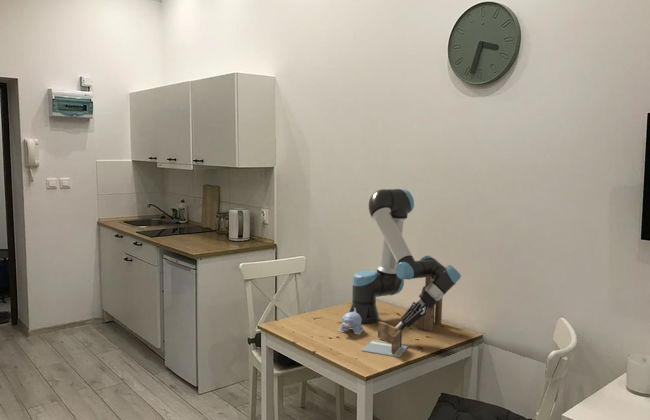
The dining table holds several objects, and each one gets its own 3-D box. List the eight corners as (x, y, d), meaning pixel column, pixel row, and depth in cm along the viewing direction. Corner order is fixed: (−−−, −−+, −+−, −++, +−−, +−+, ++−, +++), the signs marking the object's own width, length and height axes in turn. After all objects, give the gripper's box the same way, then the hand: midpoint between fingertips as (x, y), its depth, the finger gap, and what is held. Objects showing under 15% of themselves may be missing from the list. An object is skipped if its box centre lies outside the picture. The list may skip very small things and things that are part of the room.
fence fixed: (390, 355, 216) (391, 336, 215) (398, 346, 226) (398, 328, 225) (394, 355, 215) (395, 337, 214) (401, 347, 225) (402, 329, 224)
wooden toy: (430, 331, 247) (432, 278, 245) (416, 328, 251) (418, 276, 249) (442, 323, 260) (444, 272, 258) (429, 321, 264) (431, 271, 262)
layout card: (361, 351, 220) (361, 350, 220) (372, 340, 233) (372, 339, 233) (399, 357, 213) (399, 356, 213) (408, 345, 227) (408, 344, 227)
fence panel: (398, 344, 226) (398, 328, 225) (395, 345, 225) (396, 329, 225) (379, 336, 236) (380, 321, 235) (377, 337, 235) (378, 321, 235)
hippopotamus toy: (333, 335, 239) (334, 314, 238) (343, 326, 253) (344, 306, 252) (356, 338, 235) (357, 317, 235) (365, 328, 249) (366, 308, 249)
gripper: (442, 305, 226) (403, 345, 225) (431, 297, 239) (394, 335, 238) (430, 293, 224) (390, 334, 224) (420, 286, 238) (383, 324, 237)
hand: (393, 334), depth 231 cm, fingers closed
